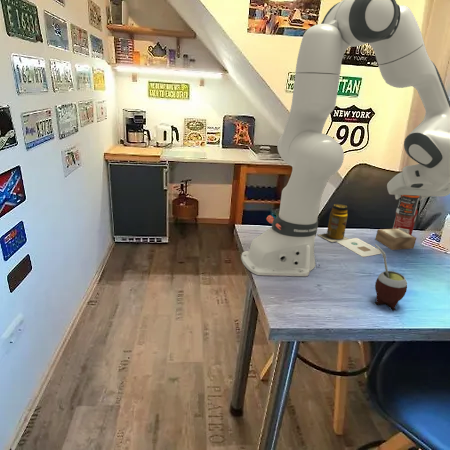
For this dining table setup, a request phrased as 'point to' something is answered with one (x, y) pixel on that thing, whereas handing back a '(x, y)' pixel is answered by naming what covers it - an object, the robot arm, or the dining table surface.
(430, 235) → the dining table surface
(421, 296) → the dining table surface
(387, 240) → the pedestal
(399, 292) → the mate gourd
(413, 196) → the supplement bottle
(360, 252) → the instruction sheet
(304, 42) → the robot arm
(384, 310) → the dining table surface
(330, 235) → the condiment
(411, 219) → the soda can
